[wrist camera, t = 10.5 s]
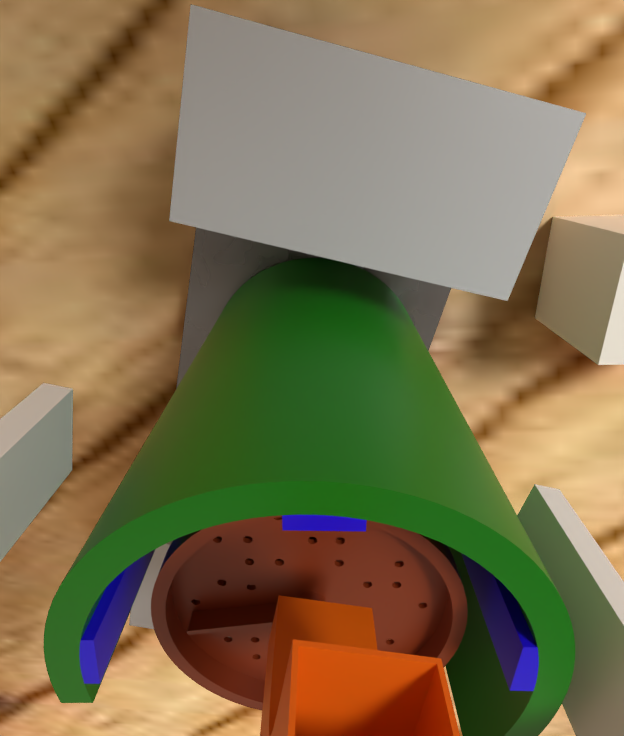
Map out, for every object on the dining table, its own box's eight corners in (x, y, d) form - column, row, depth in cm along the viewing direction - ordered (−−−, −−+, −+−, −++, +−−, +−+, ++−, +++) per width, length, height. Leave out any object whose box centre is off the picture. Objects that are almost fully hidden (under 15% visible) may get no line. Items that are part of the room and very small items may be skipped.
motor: (219, 424, 25) (-51, 1150, 7) (204, 256, 21) (-494, 860, 3) (408, 426, 25) (657, 1170, 7) (426, 258, 21) (1110, 893, 3)
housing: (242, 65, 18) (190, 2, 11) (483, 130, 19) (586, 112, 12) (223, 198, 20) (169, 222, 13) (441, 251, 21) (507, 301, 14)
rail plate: (227, 38, 19) (220, 28, 18) (502, 112, 20) (516, 109, 19) (169, 492, 29) (161, 509, 27) (355, 527, 30) (357, 545, 28)
